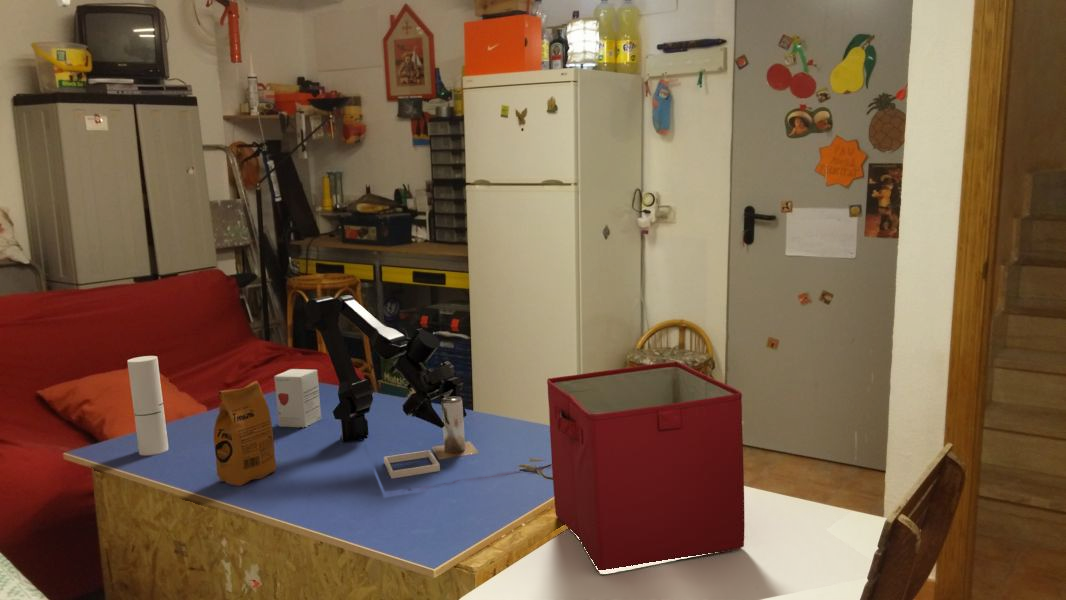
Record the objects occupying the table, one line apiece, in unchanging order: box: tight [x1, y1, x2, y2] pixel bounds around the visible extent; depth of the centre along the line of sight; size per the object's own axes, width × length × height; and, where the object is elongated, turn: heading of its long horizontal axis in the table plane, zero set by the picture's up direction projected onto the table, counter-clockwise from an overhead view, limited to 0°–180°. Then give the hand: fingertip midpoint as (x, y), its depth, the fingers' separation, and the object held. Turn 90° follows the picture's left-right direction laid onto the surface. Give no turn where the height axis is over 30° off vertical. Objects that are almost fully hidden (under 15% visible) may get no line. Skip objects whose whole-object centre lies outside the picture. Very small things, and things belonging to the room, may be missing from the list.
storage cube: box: [546, 361, 746, 570], centre depth 153 cm, size 32×28×29 cm
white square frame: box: [383, 449, 441, 479], centre depth 194 cm, size 11×11×2 cm
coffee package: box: [213, 380, 277, 487], centre depth 195 cm, size 10×12×22 cm
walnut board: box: [430, 440, 480, 460], centre depth 204 cm, size 10×10×1 cm
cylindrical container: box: [127, 355, 170, 456], centre depth 217 cm, size 7×7×25 cm
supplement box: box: [274, 368, 322, 429], centre depth 237 cm, size 9×9×15 cm
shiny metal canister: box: [440, 396, 466, 453], centre depth 203 cm, size 5×5×13 cm
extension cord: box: [518, 457, 553, 480], centre depth 190 cm, size 12×16×2 cm
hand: (454, 421), depth 203 cm, fingers open, 9 cm apart
